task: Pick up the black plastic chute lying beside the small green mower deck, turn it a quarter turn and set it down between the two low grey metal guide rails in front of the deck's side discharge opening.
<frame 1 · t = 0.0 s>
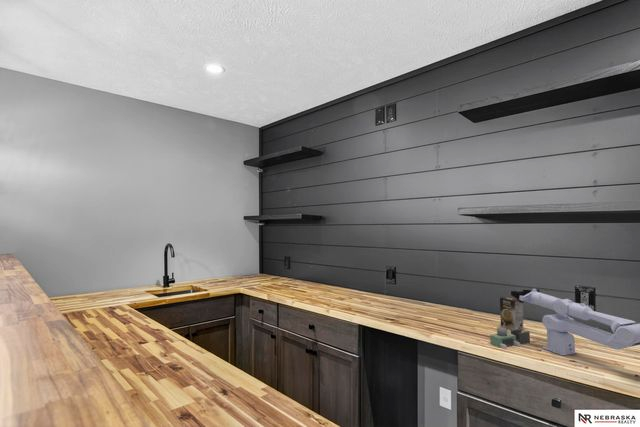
hand: (517, 292, 167), 22 cm above the worktop, tool horizontal, fingers open, 7 cm apart
chute: (520, 341, 160), on the worktop
mower deck: (503, 344, 157), on the worktop
coffee box: (512, 329, 179), on the worktop
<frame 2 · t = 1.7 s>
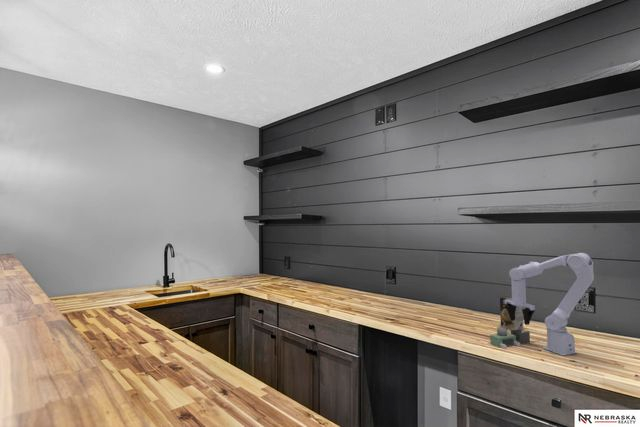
hand: (519, 322, 160), 9 cm above the worktop, tool pointing down, fingers open, 7 cm apart
nothing on the worktop moved.
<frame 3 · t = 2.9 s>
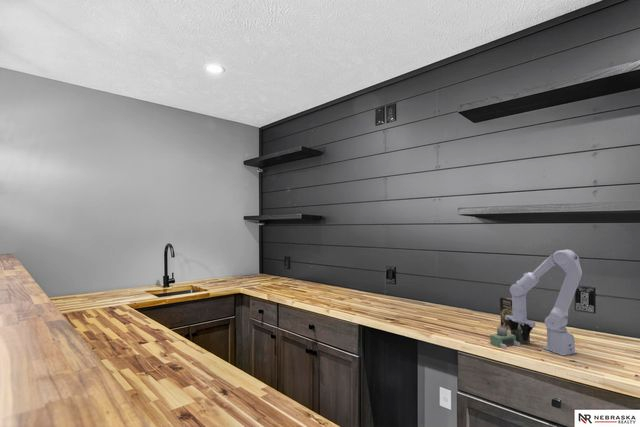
hand: (520, 338, 160), 1 cm above the worktop, tool pointing down, fingers closed on chute, 5 cm apart
chute: (520, 341, 160), on the worktop, touching gripper
everything else where it was.
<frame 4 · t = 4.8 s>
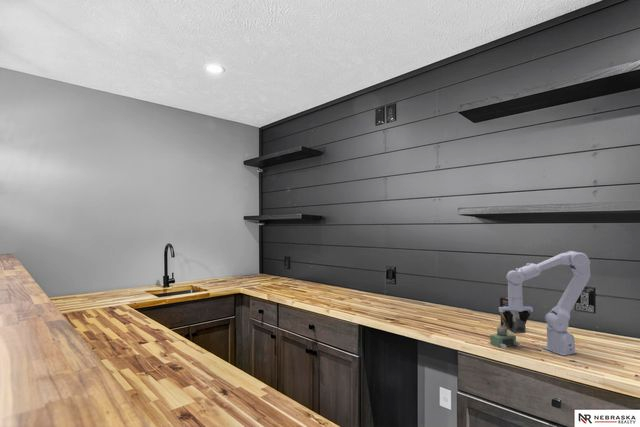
hand: (516, 327, 154), 8 cm above the worktop, tool pointing down, fingers closed on chute, 5 cm apart
chute: (516, 331, 154), point 7 cm above the worktop, touching gripper
everything else where it was.
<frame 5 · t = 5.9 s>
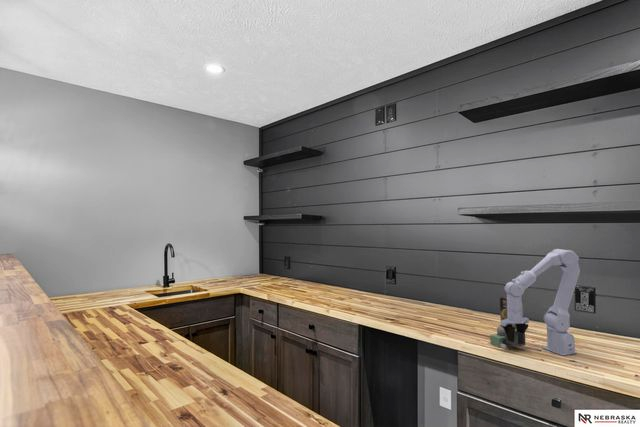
hand: (515, 340, 151), 4 cm above the worktop, tool pointing down, fingers closed on chute, 5 cm apart
chute: (515, 343, 151), point 2 cm above the worktop, touching gripper
everything else where it was.
when the fingers open (2 cm above the worktop, at t = 6.7 s): chute stays where it is, on the worktop.
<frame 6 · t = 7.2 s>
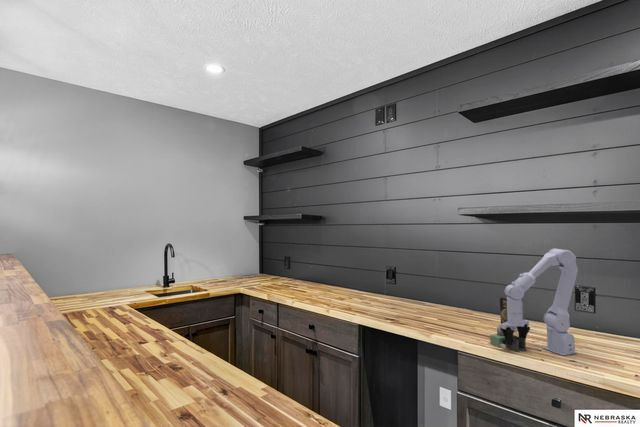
hand: (515, 343, 151), 2 cm above the worktop, tool pointing down, fingers open, 7 cm apart
chute: (515, 349, 151), on the worktop
everything else where it was.
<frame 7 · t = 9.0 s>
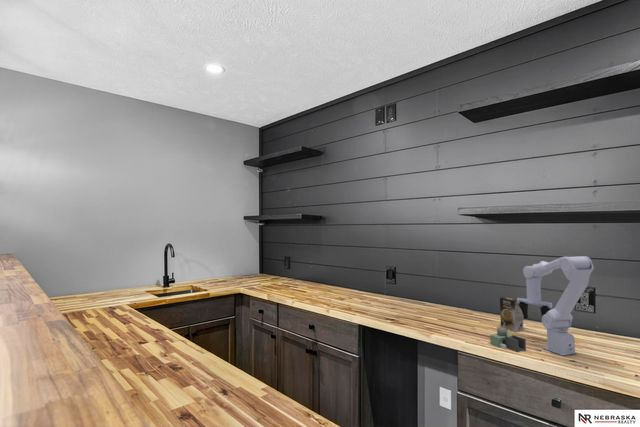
hand: (534, 320, 162), 9 cm above the worktop, tool pointing down, fingers open, 7 cm apart
nothing on the worktop moved.
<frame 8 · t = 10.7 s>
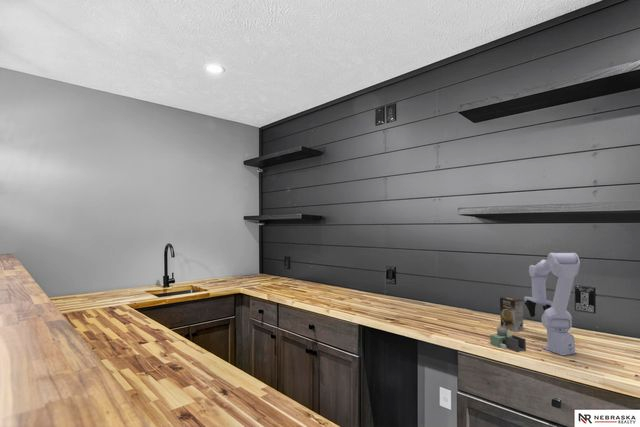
hand: (539, 318, 165), 9 cm above the worktop, tool pointing down, fingers open, 7 cm apart
nothing on the worktop moved.
at the end: chute 0.0 cm from the target spot, on the worktop; chute tilted 0°; the gripper is holding nothing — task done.
